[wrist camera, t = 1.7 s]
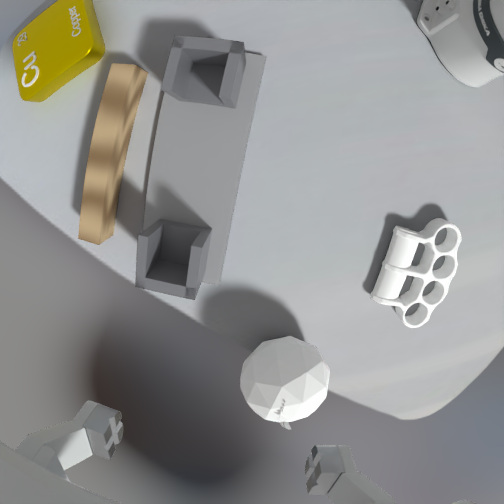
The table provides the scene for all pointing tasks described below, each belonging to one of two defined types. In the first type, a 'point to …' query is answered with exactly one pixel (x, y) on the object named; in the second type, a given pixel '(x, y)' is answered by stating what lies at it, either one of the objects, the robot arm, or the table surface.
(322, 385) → the geodesic sphere
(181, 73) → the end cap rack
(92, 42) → the element tile
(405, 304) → the knuckle duster
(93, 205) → the oak slat
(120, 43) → the table surface
